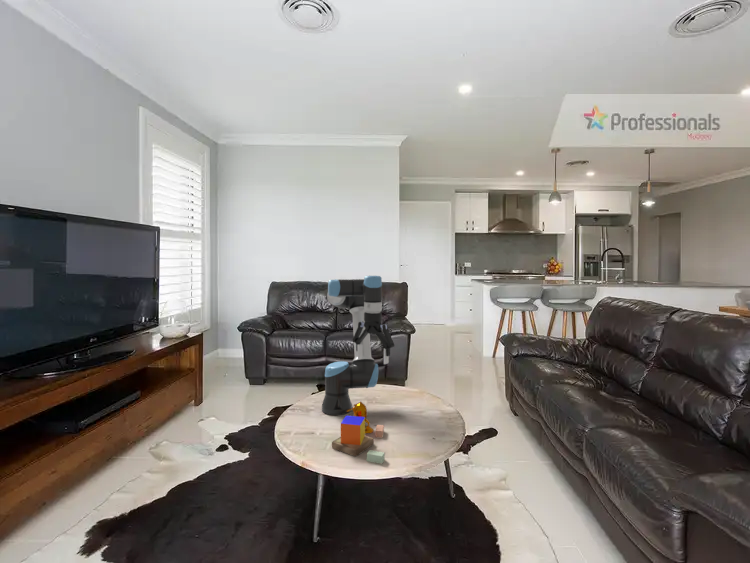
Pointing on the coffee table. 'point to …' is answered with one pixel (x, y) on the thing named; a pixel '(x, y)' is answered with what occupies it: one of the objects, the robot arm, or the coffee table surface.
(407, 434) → the coffee table surface
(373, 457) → the sage brick
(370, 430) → the figurine
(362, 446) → the walnut slab
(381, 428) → the terracotta brick
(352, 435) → the cube
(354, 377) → the robot arm
